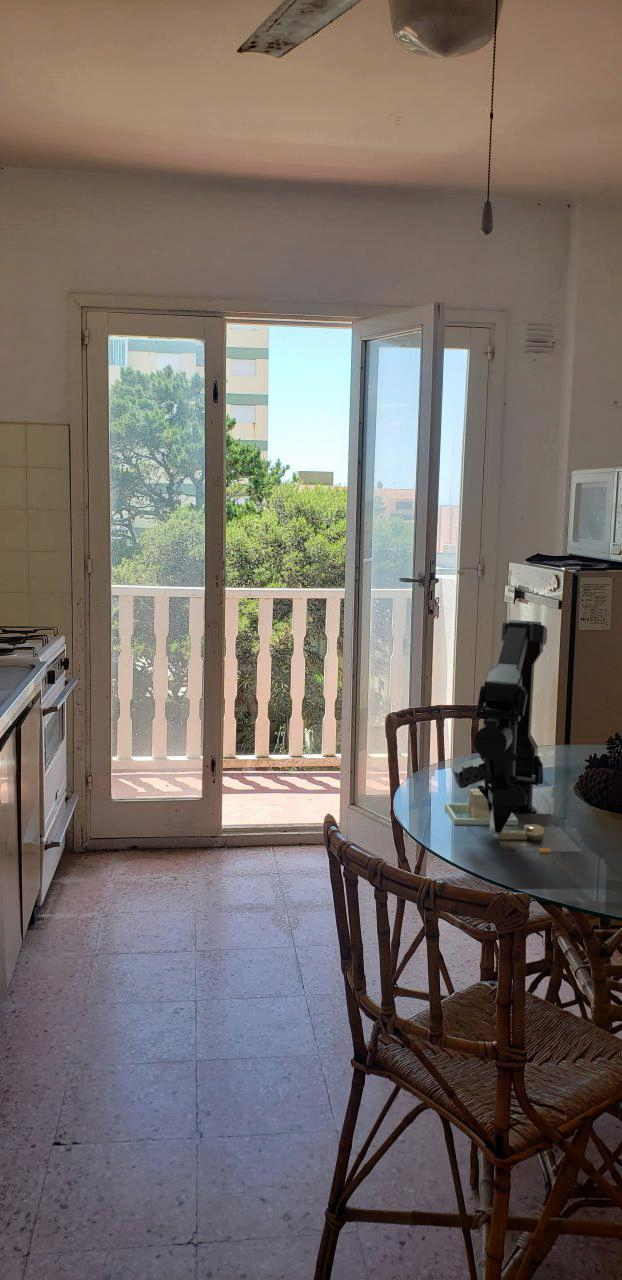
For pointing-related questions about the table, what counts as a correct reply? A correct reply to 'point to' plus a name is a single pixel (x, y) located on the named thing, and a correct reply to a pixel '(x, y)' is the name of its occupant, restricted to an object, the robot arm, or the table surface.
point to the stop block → (477, 804)
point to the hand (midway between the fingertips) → (496, 829)
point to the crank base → (540, 842)
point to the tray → (472, 821)
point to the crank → (519, 832)
